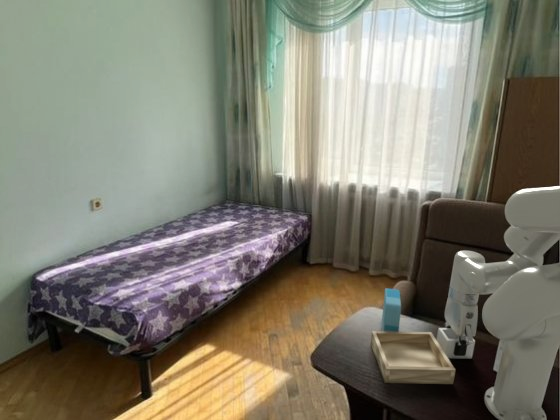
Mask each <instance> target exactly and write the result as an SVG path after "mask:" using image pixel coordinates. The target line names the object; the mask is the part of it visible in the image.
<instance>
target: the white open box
mask: <svg viewBox="0 0 560 420" xmlns="http://www.w3.org/2000/svg"><path fill="white" fill-rule="evenodd" d="M463 333H465V332H463ZM436 340H437V342H438V343H439V345H440V347H441V348H442V350H443V351H444V353H445V354H446V356H447V357H448V359H469V360H470V359H472V358H473V355H474V351H475V344H476V340H475V339H474V338H473V344H470V345H467V350H466V355H465V356H455V355H454V348H455V343H457V334H456V333H455V332H454V330H453V329H452V328H445V327H438V329H437V335H436ZM461 340H465V336H461Z"/></svg>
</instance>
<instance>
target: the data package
mask: <svg viewBox="0 0 560 420" xmlns="http://www.w3.org/2000/svg"><path fill="white" fill-rule="evenodd" d="M401 313H402V302H401V292H400V289H395V288H386V287H385V289H384V297H383V307H382V315H381V317H382V319H381V322H382V323H381V325H382V327H381V328H382V329H381V330H382V331H394V332H400V331H399V330H400V322H401V321H400V320H401Z"/></svg>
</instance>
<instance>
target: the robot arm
mask: <svg viewBox="0 0 560 420" xmlns="http://www.w3.org/2000/svg"><path fill="white" fill-rule="evenodd" d="M504 216H505V219H506V221H507V222H508V224H509V225H510V226H509V227H508V228H507V229H506V230H505V232H504V234H503V239H504V240H503V241H504V243H505V244H506V246H507V248H508V249H509V250H511V252H513V254H512V255H511V256H510V257H509V258H508V259H507V260H505V261H498V262H497V261H496V262H487V263H486V259H485V257H484V256H483V255H482V254H481V253H478V252H476V251H473V250H460V251H457V252H456V253H455V255H454V258H453V265H452V270H451V276H450V282H449V289H448V295H447V296H448V297H447V299H446V300H447V301H446V303H445V309H444V320H445V322H444V328H452V329H453V330H454V332H455V333H456V334H457V343H455V348H454V355H455V356H465V355H466V350H467V345H470V344H473V339H474V337H475V336H476V332H477V327H478V317H479V316H478V315H479V313H478V312H479V311H478V309H479V308H478V302H479V297H480V295H490V294H491V295H490V296H489V297H488V298H487V299H486V301H485V302H484V304H483V307H482V311H481V312H482V313H481V319H482V323H483V325H484V327H485V329H486V330H487V331H488V333H490V334H491V335H492V336H493V337H495V338H497V339H499V340H500V339H501V340H505V342H504V346H503V350H502V355H501V359H500V364H499V368H498V372H496V377H495V378H496V379H495V382H494V386H491V387H490V388H488V389H487V390H486V391H485V393H484V396H483V399H484V400H483V401H484V404H485V406H486V408H487V409H488V411H489V412H490V413H491V415H493V416H494V418H496V419H498V420H547V414H546V413H545V410H544V409H543V407H542V405H543V403H544V402H543V401H544V398H545V395H546V391H547V387H548V384H549V382H550V381H549V380H550V376H551V372H552V369H553V366H554V363H555V360H556V356H557V354H558V353H557V352H558V350H559V349H560V262H557V263H552V264H544V255H545V253H546V252H547V251H549V249H551V248H552V247H553V246H554V244H556V243H557V242H558V241H559V240H560V185H557V186H546V187H531V188H528V187H527V188H522V189H519V190H518V191H516V192H515V193H513V194H512V195H511V196H510V197H509V198H508V200H507V201H506V204H505V207H504ZM543 264H544V265H543ZM463 332H465V333H463ZM461 336H465V340H461Z"/></svg>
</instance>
